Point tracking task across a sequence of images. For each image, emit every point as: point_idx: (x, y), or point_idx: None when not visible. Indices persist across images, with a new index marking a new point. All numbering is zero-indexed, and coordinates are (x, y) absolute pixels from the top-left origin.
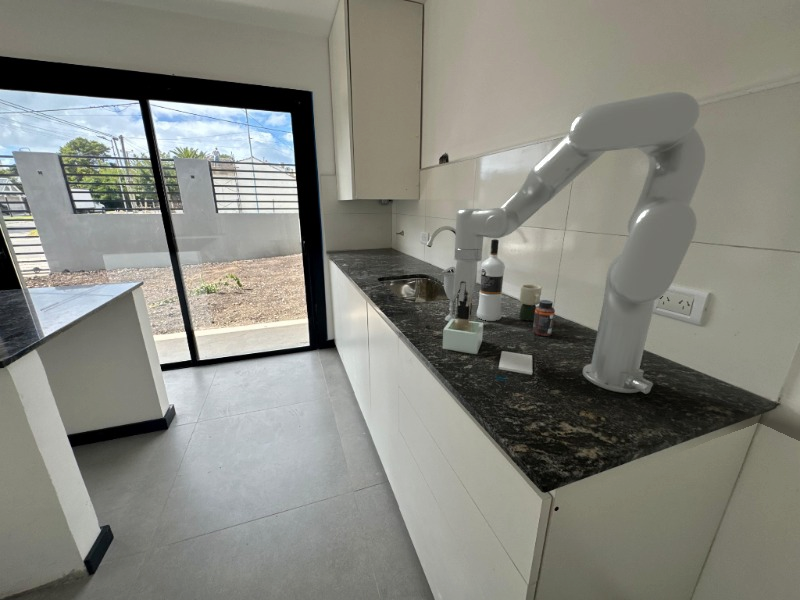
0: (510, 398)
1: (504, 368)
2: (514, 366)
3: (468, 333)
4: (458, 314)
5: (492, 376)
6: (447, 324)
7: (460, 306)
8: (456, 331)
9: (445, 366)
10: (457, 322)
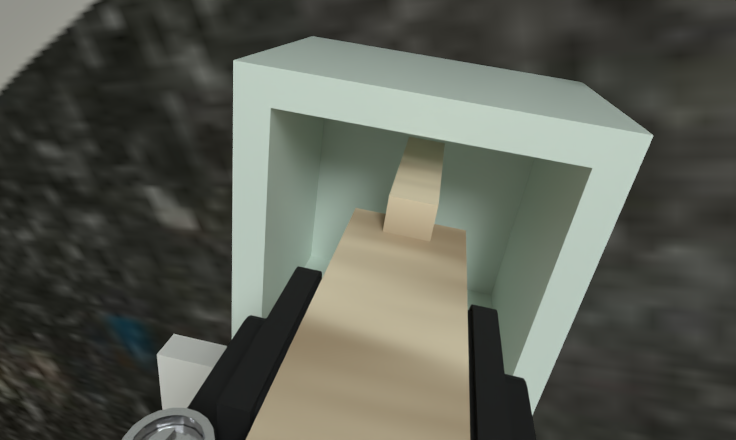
0: (8, 340)
1: (161, 371)
2: None
3: (232, 296)
4: (283, 301)
5: (127, 306)
6: (411, 96)
7: (178, 426)
8: (234, 200)
9: (113, 80)
10: (345, 232)
